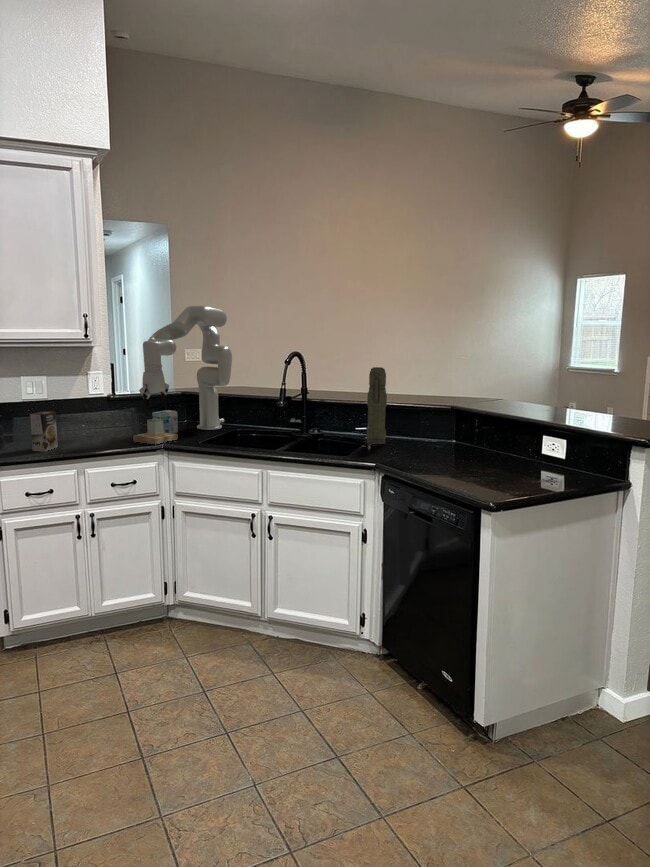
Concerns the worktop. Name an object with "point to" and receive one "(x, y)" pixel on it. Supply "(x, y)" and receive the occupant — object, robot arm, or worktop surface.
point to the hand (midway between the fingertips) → (155, 405)
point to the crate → (155, 427)
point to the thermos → (376, 406)
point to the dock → (155, 438)
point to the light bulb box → (168, 420)
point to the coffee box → (43, 431)
